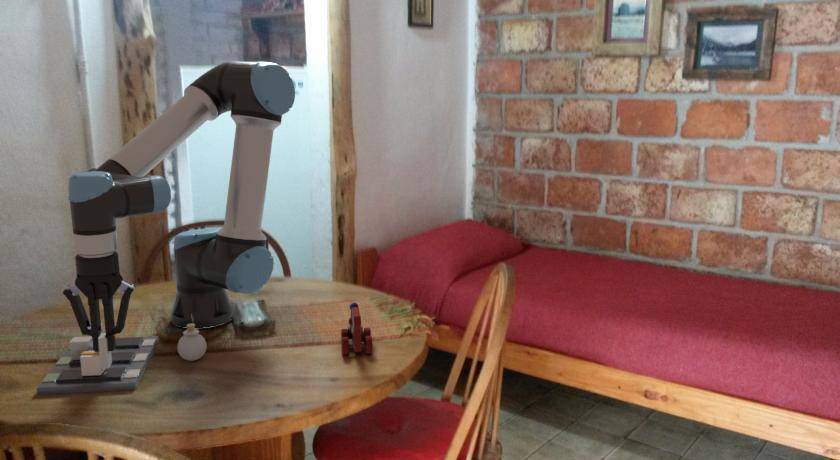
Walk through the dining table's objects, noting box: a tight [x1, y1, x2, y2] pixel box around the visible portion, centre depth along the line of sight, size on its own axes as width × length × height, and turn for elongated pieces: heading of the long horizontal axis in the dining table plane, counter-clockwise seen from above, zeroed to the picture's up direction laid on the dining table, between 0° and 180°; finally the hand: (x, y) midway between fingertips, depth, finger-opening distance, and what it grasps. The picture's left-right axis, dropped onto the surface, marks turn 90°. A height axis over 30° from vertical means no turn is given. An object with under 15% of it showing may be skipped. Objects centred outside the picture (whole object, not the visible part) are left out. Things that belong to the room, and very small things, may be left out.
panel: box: [36, 322, 160, 396], centre depth 143 cm, size 18×24×6 cm
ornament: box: [177, 313, 208, 362], centre depth 148 cm, size 6×7×10 cm
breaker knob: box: [80, 351, 105, 376], centre depth 135 cm, size 4×3×4 cm
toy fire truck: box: [340, 302, 374, 356], centre depth 155 cm, size 7×12×10 cm, turn 8°
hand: (106, 365), depth 136 cm, fingers closed
